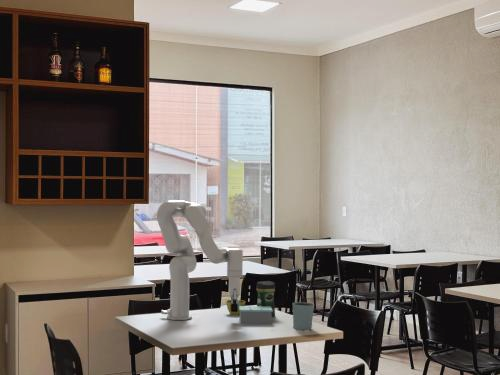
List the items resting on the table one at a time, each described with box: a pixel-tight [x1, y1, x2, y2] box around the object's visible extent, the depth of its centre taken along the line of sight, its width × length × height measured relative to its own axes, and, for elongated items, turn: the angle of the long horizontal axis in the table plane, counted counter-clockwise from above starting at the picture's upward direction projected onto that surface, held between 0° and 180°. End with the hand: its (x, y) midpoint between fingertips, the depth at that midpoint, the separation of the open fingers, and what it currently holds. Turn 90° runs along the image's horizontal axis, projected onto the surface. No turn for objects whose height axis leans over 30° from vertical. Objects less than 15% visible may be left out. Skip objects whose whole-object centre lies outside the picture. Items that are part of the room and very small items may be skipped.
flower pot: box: [225, 299, 246, 316], centre depth 366 cm, size 10×10×7 cm
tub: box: [239, 312, 273, 325], centre depth 343 cm, size 15×10×6 cm, turn 94°
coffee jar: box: [255, 280, 276, 318], centre depth 360 cm, size 10×8×19 cm
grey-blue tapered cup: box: [292, 301, 315, 332], centre depth 330 cm, size 10×10×12 cm
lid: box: [230, 299, 273, 312], centre depth 343 cm, size 20×11×5 cm, turn 94°
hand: (234, 310), depth 343 cm, fingers closed on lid, 2 cm apart
